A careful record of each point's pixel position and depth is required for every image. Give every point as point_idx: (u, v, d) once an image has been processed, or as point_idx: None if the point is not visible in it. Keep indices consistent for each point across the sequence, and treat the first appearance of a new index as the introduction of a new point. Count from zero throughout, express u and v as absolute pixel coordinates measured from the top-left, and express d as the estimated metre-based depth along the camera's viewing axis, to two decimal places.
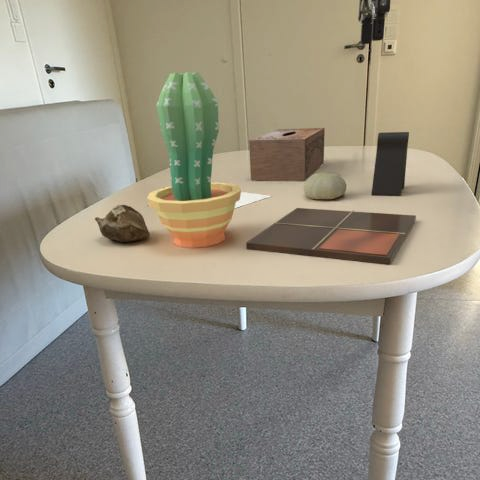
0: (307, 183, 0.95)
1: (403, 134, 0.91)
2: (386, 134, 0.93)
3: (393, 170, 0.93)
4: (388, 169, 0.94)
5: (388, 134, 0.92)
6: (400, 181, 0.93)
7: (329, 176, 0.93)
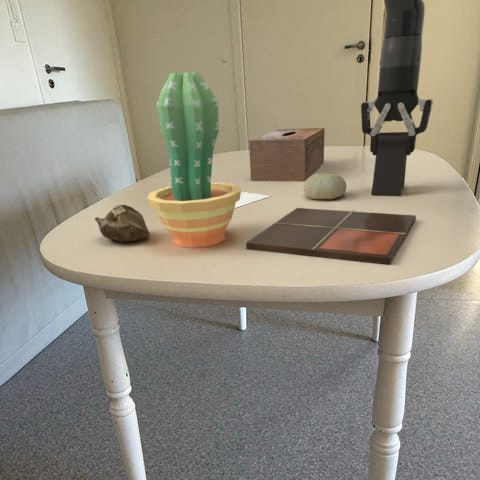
0: (307, 183, 0.95)
1: (403, 134, 0.91)
2: (386, 134, 0.93)
3: (393, 170, 0.93)
4: (388, 169, 0.94)
5: (388, 134, 0.92)
6: (400, 181, 0.93)
7: (329, 176, 0.93)
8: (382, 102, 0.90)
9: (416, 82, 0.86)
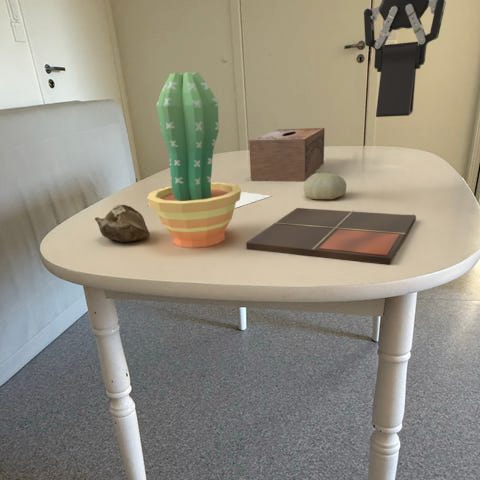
0: (307, 183, 0.95)
1: (411, 43, 0.81)
2: (392, 45, 0.82)
3: (400, 86, 0.83)
4: (395, 85, 0.83)
5: (394, 45, 0.82)
6: (408, 98, 0.83)
7: (329, 176, 0.93)
8: (388, 6, 0.80)
9: None
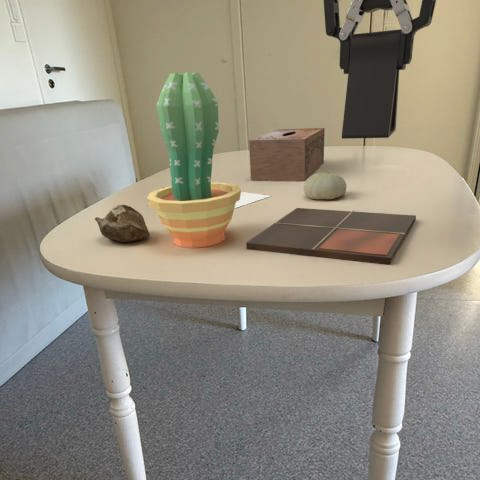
0: (307, 183, 0.95)
1: (392, 32, 0.55)
2: (364, 35, 0.56)
3: (376, 95, 0.57)
4: (368, 94, 0.57)
5: (368, 34, 0.56)
6: (388, 113, 0.57)
7: (329, 176, 0.93)
8: None
9: None
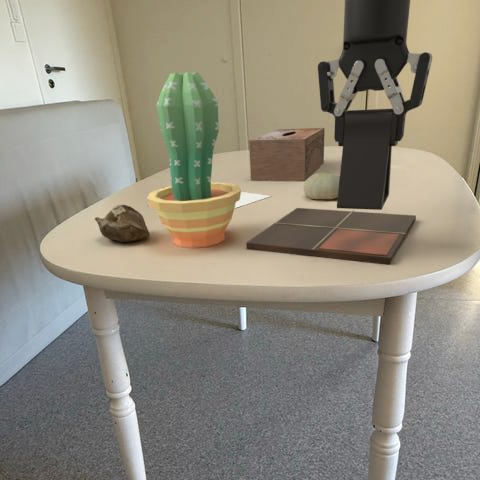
0: (307, 183, 0.95)
1: (385, 112, 0.57)
2: (358, 112, 0.58)
3: (370, 170, 0.59)
4: (362, 168, 0.59)
5: (361, 112, 0.58)
6: (381, 187, 0.59)
7: (329, 176, 0.93)
8: (350, 60, 0.56)
9: (404, 23, 0.52)
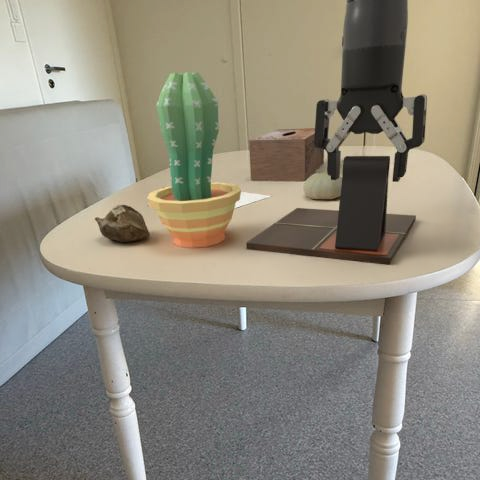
0: (307, 183, 0.95)
1: (381, 160, 0.60)
2: (355, 159, 0.61)
3: (366, 213, 0.62)
4: (359, 211, 0.62)
5: (358, 159, 0.61)
6: (377, 230, 0.62)
7: (329, 176, 0.93)
8: (348, 104, 0.58)
9: (399, 73, 0.54)
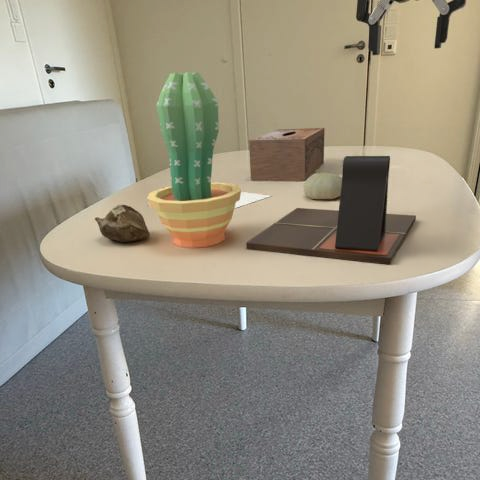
0: (307, 183, 0.95)
1: (381, 160, 0.60)
2: (355, 159, 0.61)
3: (366, 213, 0.62)
4: (359, 211, 0.62)
5: (358, 159, 0.61)
6: (377, 230, 0.62)
7: (329, 176, 0.93)
8: None
9: None
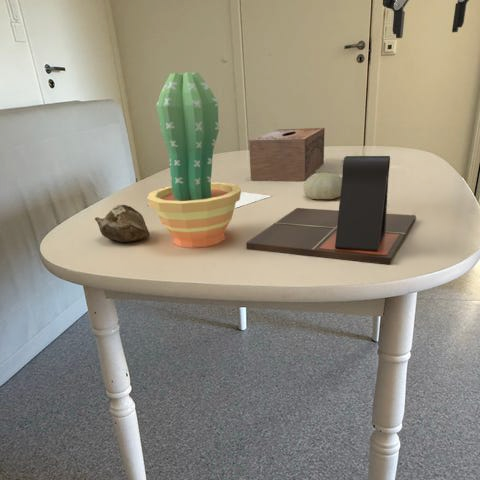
0: (307, 183, 0.95)
1: (381, 160, 0.60)
2: (355, 159, 0.61)
3: (366, 213, 0.62)
4: (359, 211, 0.62)
5: (358, 159, 0.61)
6: (377, 230, 0.62)
7: (329, 176, 0.93)
8: None
9: None
